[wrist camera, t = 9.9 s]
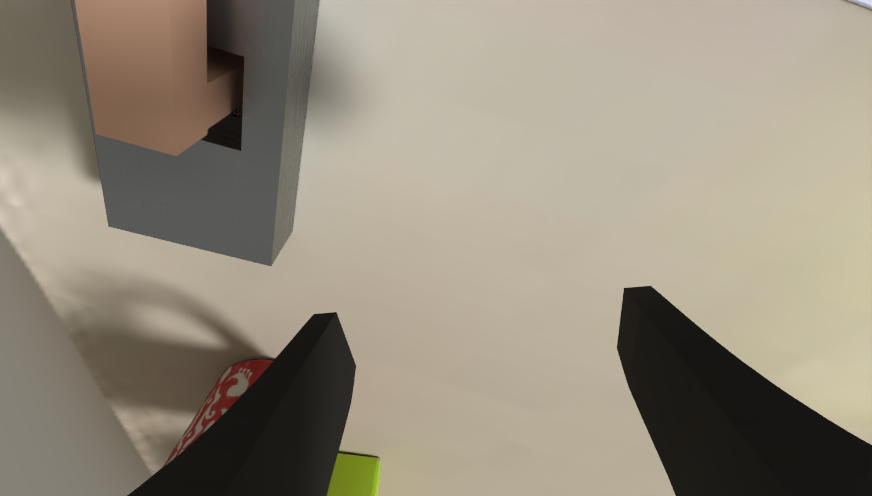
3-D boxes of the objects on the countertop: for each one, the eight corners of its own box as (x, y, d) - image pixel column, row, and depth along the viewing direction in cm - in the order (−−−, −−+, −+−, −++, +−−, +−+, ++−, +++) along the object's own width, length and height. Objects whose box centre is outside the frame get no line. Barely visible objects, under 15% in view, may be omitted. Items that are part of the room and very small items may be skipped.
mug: (315, 447, 33) (242, 698, 22) (195, 408, 31) (46, 664, 20) (384, 347, 27) (330, 630, 15) (238, 289, 24) (53, 569, 13)
